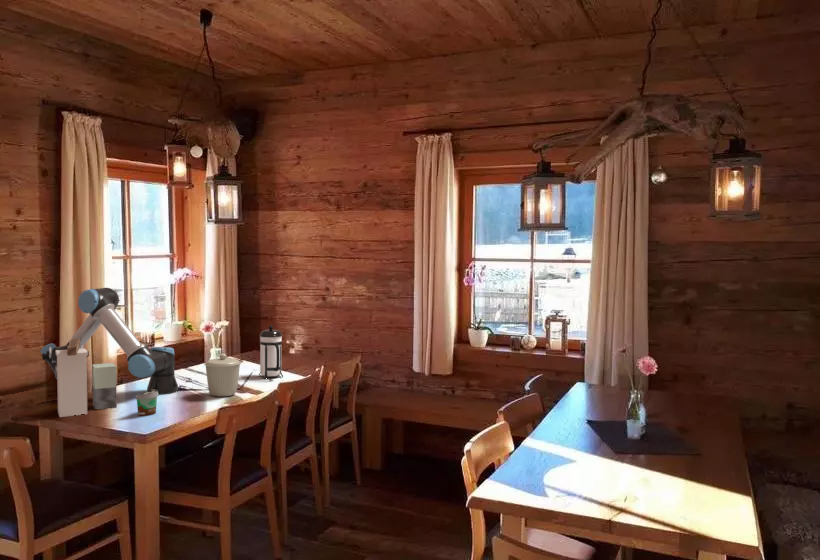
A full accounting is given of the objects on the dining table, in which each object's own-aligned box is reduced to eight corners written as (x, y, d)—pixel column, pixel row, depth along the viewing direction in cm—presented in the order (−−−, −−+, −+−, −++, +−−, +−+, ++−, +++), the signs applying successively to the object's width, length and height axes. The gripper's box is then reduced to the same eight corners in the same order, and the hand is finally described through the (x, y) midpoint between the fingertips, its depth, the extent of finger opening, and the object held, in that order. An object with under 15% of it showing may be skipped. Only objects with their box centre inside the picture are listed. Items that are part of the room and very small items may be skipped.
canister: (240, 398, 332) (240, 356, 331) (202, 399, 328) (202, 357, 327) (241, 390, 350) (241, 350, 349) (205, 391, 346) (205, 351, 345)
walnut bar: (80, 345, 314) (80, 338, 314) (76, 355, 288) (76, 347, 288) (72, 346, 313) (71, 338, 312) (67, 355, 287) (67, 347, 287)
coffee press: (251, 378, 379) (251, 326, 377) (266, 373, 394) (266, 323, 392) (278, 381, 374) (278, 328, 372) (292, 375, 389) (292, 324, 387)
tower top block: (113, 383, 318) (113, 362, 317) (116, 387, 309) (116, 366, 309) (92, 384, 313) (92, 364, 313) (95, 389, 305) (94, 368, 304)
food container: (148, 417, 293) (148, 395, 293) (136, 416, 294) (135, 394, 294) (164, 411, 305) (164, 389, 305) (152, 410, 306) (152, 388, 306)
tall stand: (85, 408, 308) (85, 348, 306) (88, 414, 297) (87, 352, 296) (56, 411, 301) (55, 350, 300) (58, 417, 291) (57, 354, 290)
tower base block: (113, 403, 318) (113, 383, 318) (116, 407, 310) (116, 387, 309) (92, 405, 314) (92, 384, 313) (95, 410, 305) (95, 389, 305)
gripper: (92, 369, 339) (95, 354, 323) (36, 373, 326) (36, 358, 310) (91, 355, 342) (94, 340, 326) (35, 359, 329) (36, 343, 313)
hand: (66, 349), depth 318 cm, fingers open, 13 cm apart
